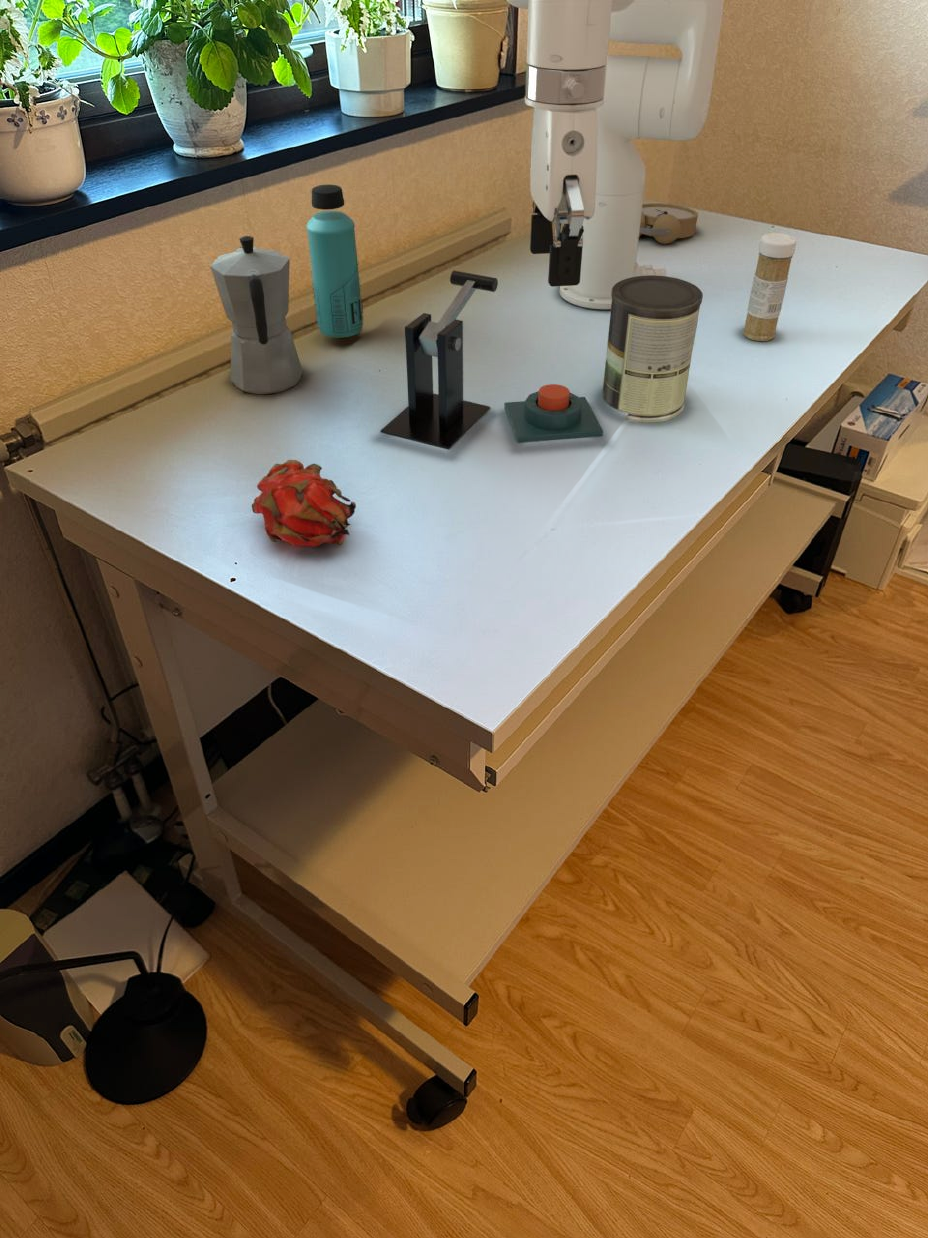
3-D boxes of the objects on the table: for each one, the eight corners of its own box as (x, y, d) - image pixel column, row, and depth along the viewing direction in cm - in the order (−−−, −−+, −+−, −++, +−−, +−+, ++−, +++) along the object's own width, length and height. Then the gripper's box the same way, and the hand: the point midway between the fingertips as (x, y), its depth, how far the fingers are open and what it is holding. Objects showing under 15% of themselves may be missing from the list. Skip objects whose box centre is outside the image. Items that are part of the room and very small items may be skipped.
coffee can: (583, 403, 116) (593, 291, 107) (634, 377, 121) (648, 268, 112) (650, 432, 110) (667, 316, 101) (701, 403, 116) (721, 291, 106)
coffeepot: (227, 360, 125) (202, 221, 113) (297, 353, 127) (280, 215, 115) (235, 414, 114) (209, 266, 102) (312, 405, 116) (295, 258, 104)
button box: (583, 408, 115) (586, 382, 112) (601, 443, 108) (604, 416, 106) (503, 414, 114) (504, 388, 111) (517, 450, 107) (518, 422, 105)
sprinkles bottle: (767, 327, 133) (788, 230, 124) (780, 341, 129) (803, 242, 121) (736, 330, 132) (755, 232, 124) (749, 343, 129) (769, 244, 120)
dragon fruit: (274, 521, 99) (349, 582, 94) (216, 511, 92) (294, 576, 86) (310, 451, 97) (389, 509, 92) (253, 435, 89) (336, 497, 84)
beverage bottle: (357, 350, 127) (344, 196, 115) (311, 346, 129) (293, 193, 116) (370, 330, 132) (359, 180, 119) (325, 327, 133) (310, 178, 120)
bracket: (425, 399, 117) (422, 299, 108) (490, 415, 113) (492, 312, 105) (380, 439, 109) (373, 334, 101) (449, 457, 106) (447, 350, 98)
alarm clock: (709, 210, 164) (675, 217, 153) (702, 240, 166) (668, 249, 155) (651, 199, 168) (614, 205, 158) (645, 228, 171) (608, 236, 160)
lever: (457, 281, 111) (454, 264, 109) (499, 289, 109) (496, 271, 107) (409, 351, 105) (405, 334, 103) (452, 360, 104) (449, 343, 102)
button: (564, 396, 110) (565, 382, 109) (571, 410, 108) (573, 397, 107) (535, 398, 110) (535, 385, 109) (541, 413, 107) (542, 399, 106)
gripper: (628, 104, 82) (608, 296, 93) (582, 67, 95) (570, 239, 106) (544, 106, 81) (534, 300, 92) (510, 69, 94) (505, 242, 105)
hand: (553, 268), depth 99 cm, fingers open, 9 cm apart
